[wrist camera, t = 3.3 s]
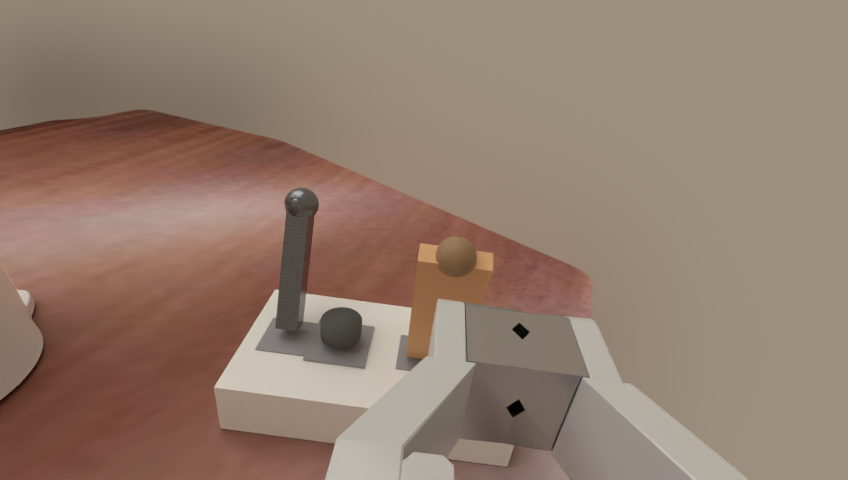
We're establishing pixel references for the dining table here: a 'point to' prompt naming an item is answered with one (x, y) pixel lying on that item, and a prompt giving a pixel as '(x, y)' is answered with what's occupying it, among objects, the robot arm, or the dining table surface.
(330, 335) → the push button
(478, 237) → the dining table surface
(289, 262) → the toggle lever
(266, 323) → the console
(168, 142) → the dining table surface
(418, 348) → the paddle lever
